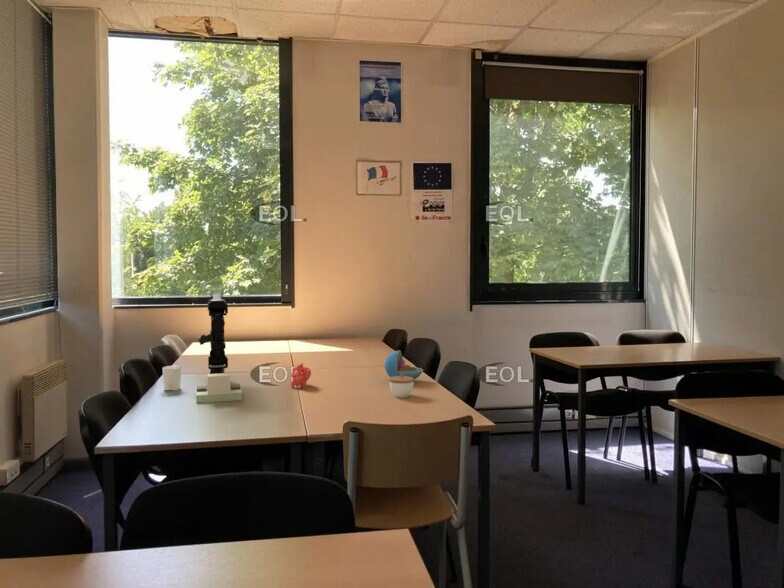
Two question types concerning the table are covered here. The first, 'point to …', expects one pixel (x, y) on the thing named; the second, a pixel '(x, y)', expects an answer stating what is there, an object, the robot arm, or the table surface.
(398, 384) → the lidded jar
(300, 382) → the anatomical heart
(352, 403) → the table surface
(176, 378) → the white cup
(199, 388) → the strip
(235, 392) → the pad
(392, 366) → the educational model
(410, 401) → the table surface
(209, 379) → the cream block
